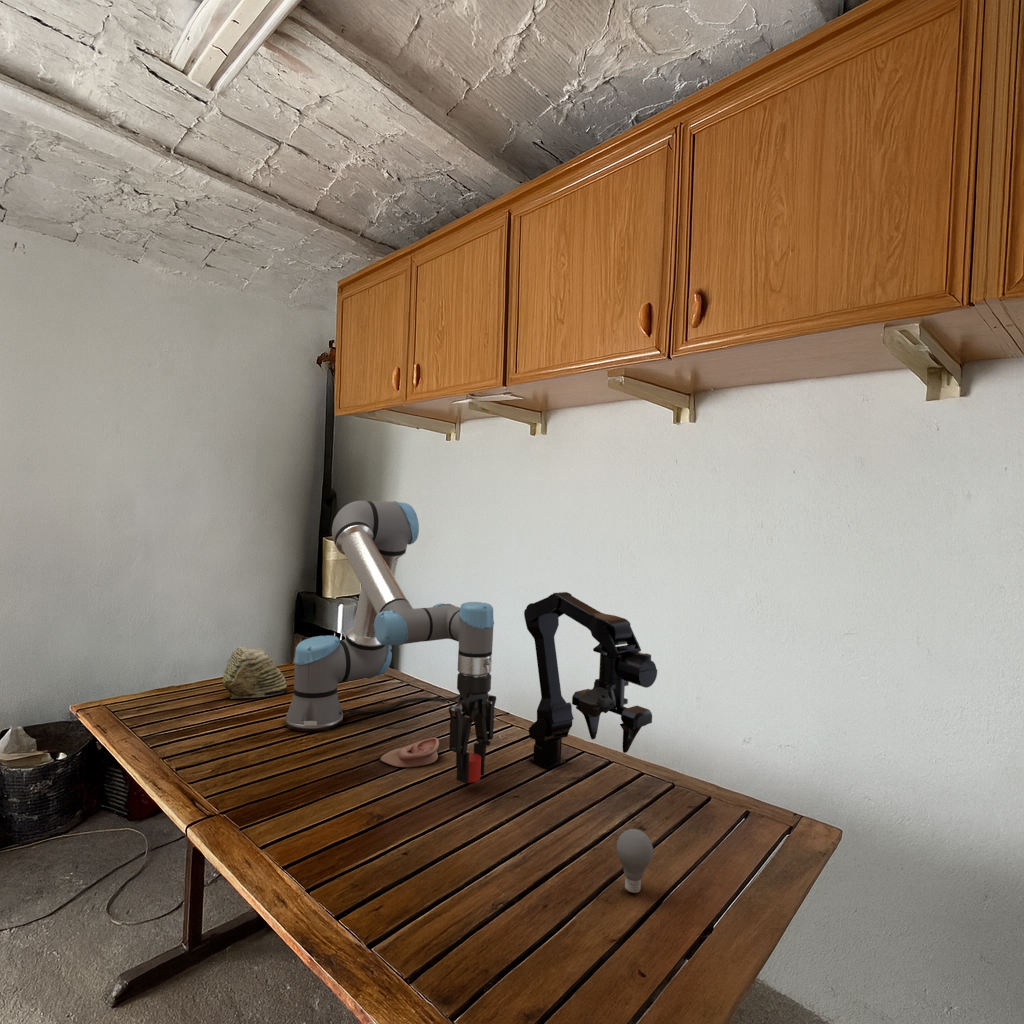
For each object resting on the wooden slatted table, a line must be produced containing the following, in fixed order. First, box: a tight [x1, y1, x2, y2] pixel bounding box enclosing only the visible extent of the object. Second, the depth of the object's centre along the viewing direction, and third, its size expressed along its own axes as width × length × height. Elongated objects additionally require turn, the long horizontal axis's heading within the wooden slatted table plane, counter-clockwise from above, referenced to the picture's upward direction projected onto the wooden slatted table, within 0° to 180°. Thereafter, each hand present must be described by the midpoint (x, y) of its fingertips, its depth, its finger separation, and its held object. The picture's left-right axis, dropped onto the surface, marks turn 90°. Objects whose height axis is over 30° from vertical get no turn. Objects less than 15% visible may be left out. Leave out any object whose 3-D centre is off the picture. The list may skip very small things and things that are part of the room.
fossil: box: [222, 646, 288, 699], centre depth 198 cm, size 9×18×15 cm, turn 132°
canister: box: [467, 752, 482, 784], centre depth 141 cm, size 5×5×5 cm
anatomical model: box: [379, 737, 440, 768], centre depth 155 cm, size 13×4×12 cm
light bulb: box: [615, 828, 654, 894], centre depth 106 cm, size 6×6×10 cm
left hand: (470, 777), depth 141 cm, fingers closed on canister, 5 cm apart
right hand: (608, 745), depth 140 cm, fingers open, 9 cm apart
